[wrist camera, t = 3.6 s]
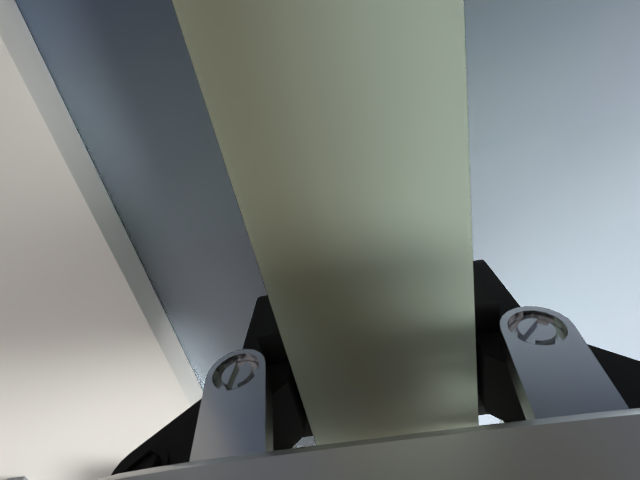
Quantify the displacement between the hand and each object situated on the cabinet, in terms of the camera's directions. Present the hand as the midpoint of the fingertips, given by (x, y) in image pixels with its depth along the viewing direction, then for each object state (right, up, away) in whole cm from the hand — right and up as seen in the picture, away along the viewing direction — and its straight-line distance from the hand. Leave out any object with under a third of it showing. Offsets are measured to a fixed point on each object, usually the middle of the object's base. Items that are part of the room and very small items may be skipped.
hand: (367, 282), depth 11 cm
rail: (0, 0, +1) cm, 1 cm away
